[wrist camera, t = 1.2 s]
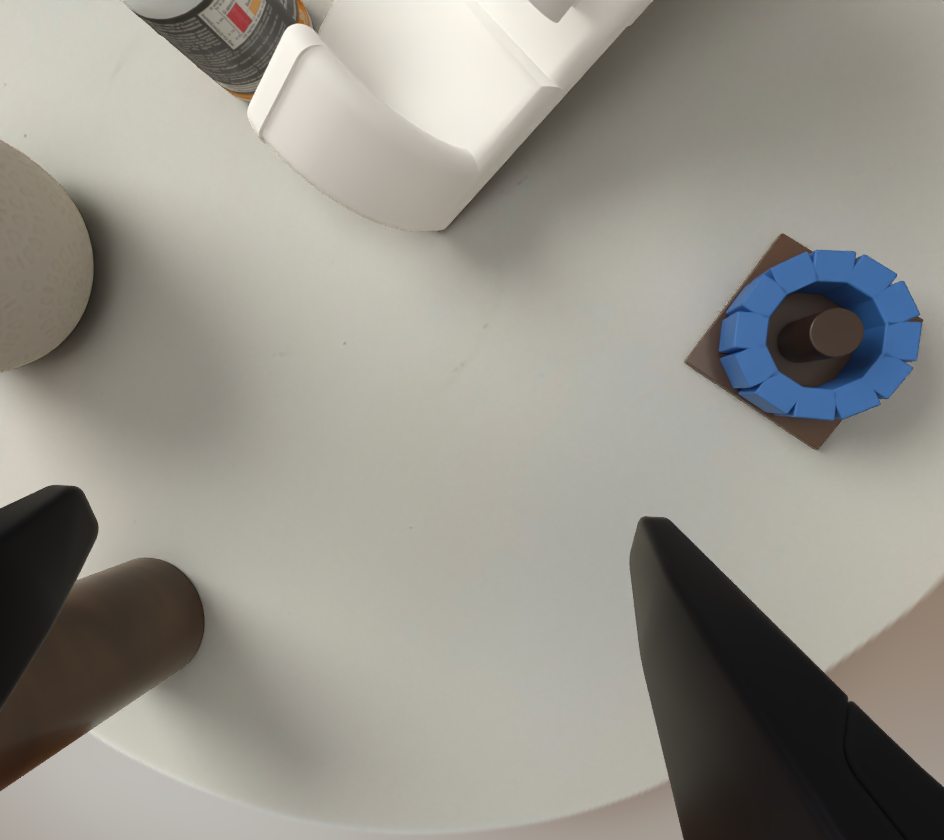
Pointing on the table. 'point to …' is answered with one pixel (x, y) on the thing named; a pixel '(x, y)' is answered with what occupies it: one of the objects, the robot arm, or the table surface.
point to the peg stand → (792, 344)
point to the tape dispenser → (423, 95)
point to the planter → (38, 261)
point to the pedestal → (99, 658)
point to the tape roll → (872, 362)
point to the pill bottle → (224, 34)
